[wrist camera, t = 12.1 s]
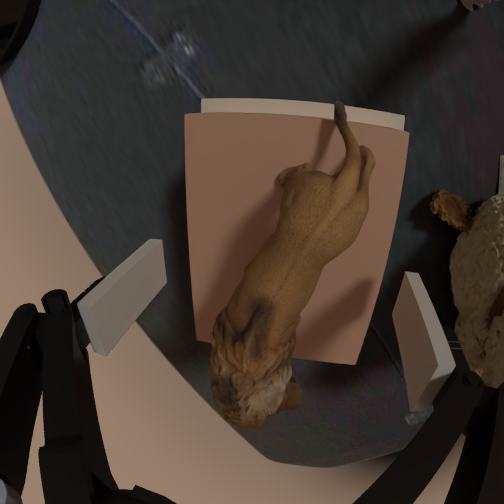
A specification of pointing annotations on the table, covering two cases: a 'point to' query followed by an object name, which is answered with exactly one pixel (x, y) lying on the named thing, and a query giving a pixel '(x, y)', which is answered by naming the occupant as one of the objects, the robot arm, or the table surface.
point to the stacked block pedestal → (268, 209)
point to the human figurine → (477, 0)
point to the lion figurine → (286, 285)
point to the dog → (478, 279)
